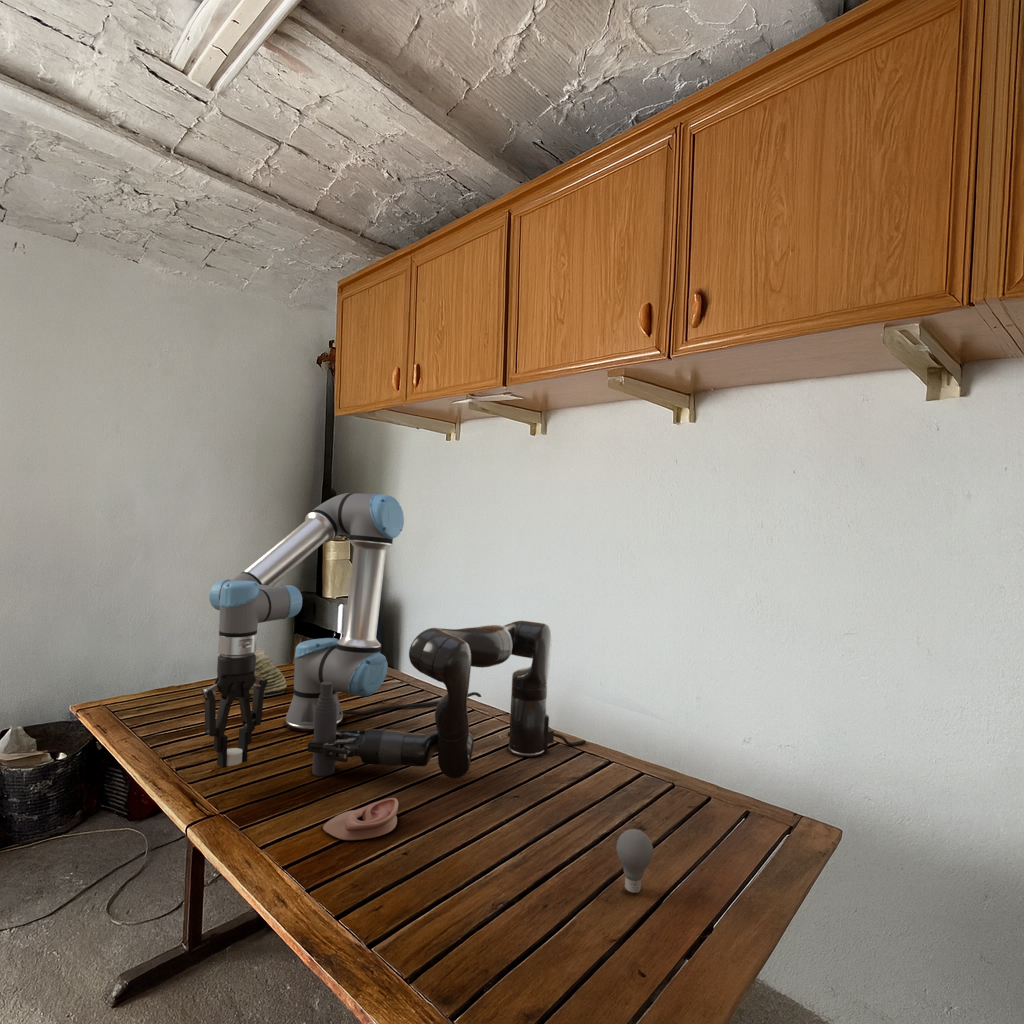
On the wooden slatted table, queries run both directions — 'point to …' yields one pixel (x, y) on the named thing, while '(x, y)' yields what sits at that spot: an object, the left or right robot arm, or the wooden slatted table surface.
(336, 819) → the anatomical model
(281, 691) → the fossil
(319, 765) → the bottle
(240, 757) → the cap
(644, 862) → the light bulb
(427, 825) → the wooden slatted table surface
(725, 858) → the wooden slatted table surface
